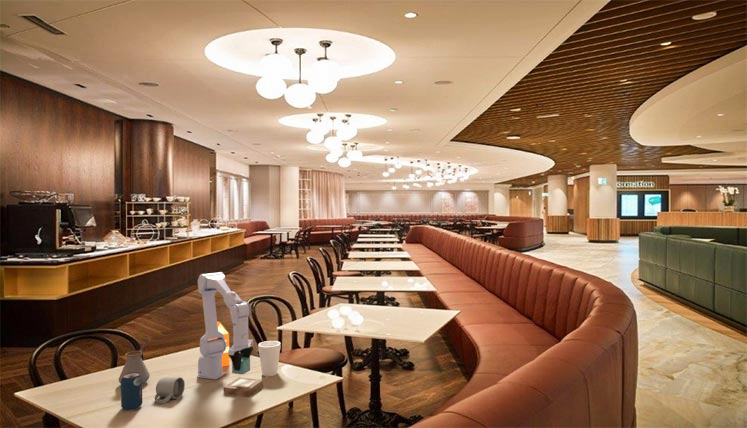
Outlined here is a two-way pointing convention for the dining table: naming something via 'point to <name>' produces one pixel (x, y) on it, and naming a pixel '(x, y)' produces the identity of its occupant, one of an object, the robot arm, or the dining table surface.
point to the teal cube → (243, 366)
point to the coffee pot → (136, 364)
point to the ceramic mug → (169, 388)
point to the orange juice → (226, 335)
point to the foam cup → (269, 357)
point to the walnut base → (243, 387)
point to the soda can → (131, 391)
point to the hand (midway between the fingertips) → (241, 367)
